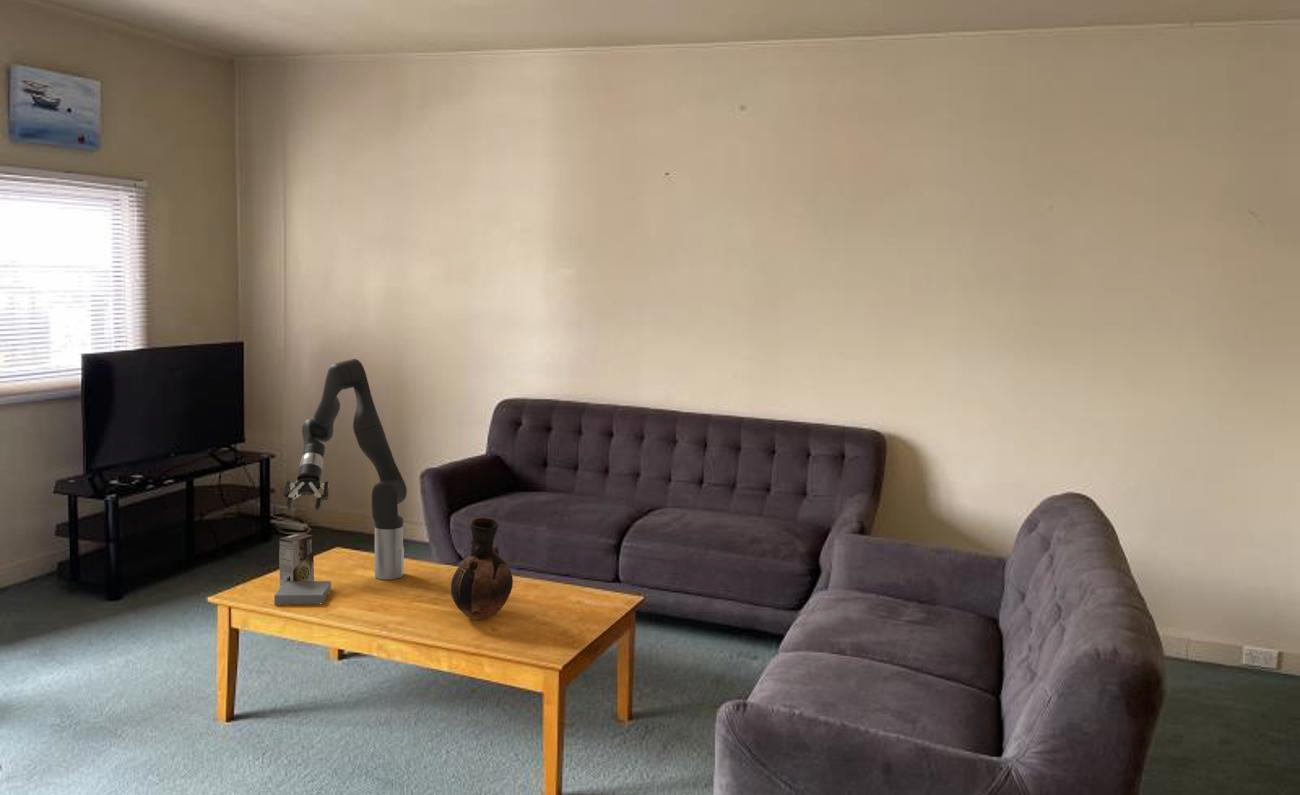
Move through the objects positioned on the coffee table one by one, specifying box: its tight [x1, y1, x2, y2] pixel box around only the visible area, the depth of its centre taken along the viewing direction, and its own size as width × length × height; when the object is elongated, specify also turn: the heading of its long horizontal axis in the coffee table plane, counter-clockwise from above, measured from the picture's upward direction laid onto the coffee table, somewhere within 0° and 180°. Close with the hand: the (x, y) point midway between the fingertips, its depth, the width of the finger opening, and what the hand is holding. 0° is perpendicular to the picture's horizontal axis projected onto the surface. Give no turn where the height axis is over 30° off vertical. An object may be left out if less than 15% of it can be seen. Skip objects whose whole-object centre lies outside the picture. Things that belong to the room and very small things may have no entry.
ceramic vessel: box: [450, 517, 514, 621], centre depth 290 cm, size 21×18×30 cm
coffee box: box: [278, 532, 315, 587], centre depth 315 cm, size 9×6×16 cm
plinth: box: [273, 580, 332, 605], centre depth 304 cm, size 14×14×3 cm
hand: (303, 509), depth 323 cm, fingers open, 8 cm apart
